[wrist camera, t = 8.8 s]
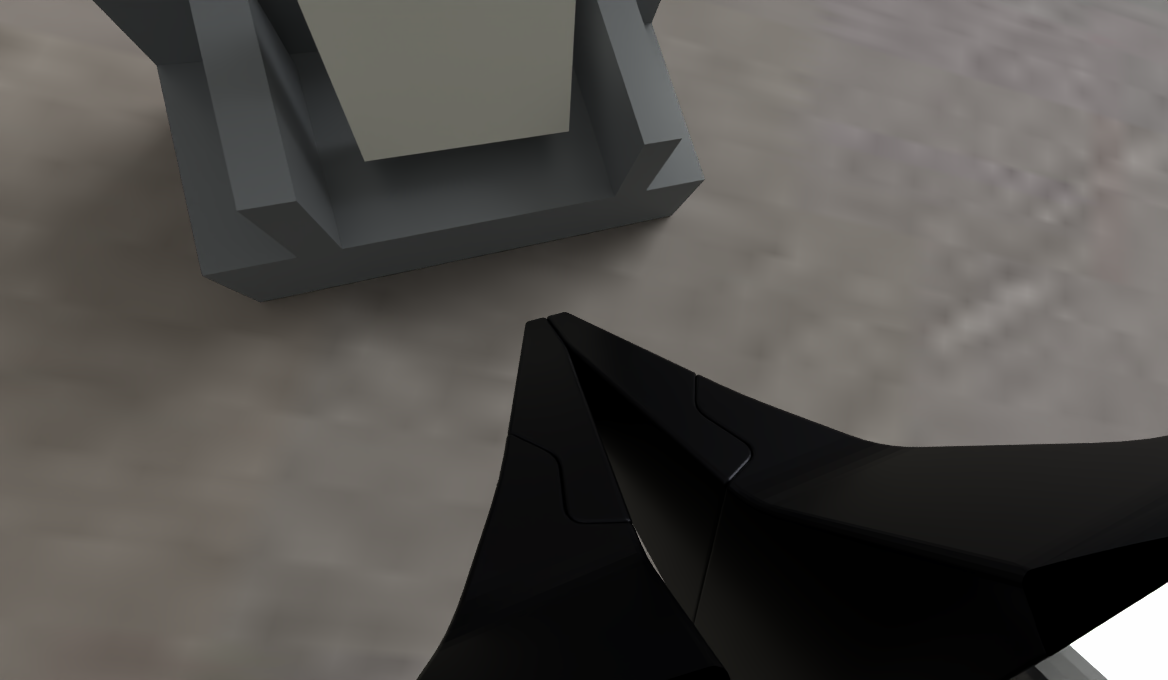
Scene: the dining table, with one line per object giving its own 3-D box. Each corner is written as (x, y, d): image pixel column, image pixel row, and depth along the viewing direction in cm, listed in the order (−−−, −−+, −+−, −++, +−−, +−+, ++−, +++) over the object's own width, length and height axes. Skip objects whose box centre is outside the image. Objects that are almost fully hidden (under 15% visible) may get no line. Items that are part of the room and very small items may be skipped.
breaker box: (671, 215, 18) (774, 103, 12) (260, 301, 15) (57, 210, 8) (617, 51, 19) (684, -143, 12) (212, 93, 15) (-11, -157, 9)
